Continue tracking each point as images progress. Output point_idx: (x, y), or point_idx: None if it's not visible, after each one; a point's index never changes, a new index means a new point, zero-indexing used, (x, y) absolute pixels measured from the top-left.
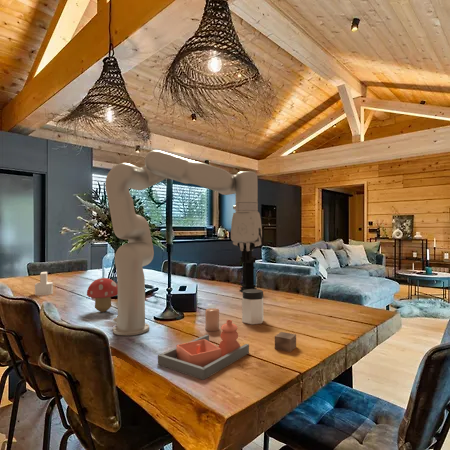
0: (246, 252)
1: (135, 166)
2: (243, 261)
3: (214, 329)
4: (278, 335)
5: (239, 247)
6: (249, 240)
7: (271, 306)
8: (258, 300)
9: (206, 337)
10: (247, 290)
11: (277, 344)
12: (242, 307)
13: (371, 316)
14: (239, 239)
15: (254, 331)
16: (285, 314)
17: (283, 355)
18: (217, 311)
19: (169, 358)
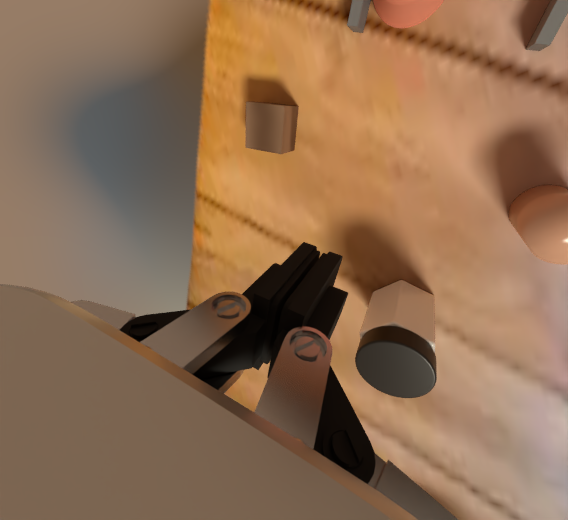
0: (260, 286)
1: None
2: (329, 254)
3: (527, 192)
4: (278, 118)
5: (346, 401)
6: (46, 311)
7: (378, 418)
8: (370, 327)
9: (544, 23)
10: (415, 378)
11: (286, 105)
12: (432, 321)
13: None
14: (223, 456)
15: (379, 224)
16: (333, 359)
17: (269, 69)
18: (533, 223)
19: None
